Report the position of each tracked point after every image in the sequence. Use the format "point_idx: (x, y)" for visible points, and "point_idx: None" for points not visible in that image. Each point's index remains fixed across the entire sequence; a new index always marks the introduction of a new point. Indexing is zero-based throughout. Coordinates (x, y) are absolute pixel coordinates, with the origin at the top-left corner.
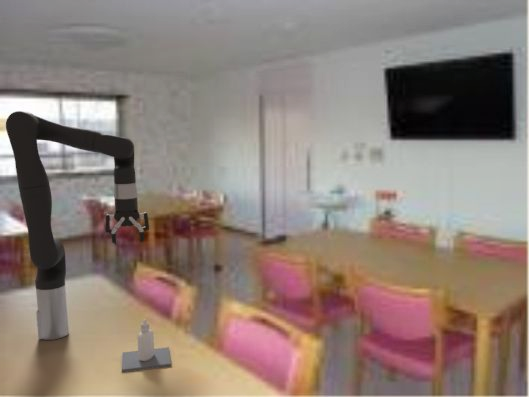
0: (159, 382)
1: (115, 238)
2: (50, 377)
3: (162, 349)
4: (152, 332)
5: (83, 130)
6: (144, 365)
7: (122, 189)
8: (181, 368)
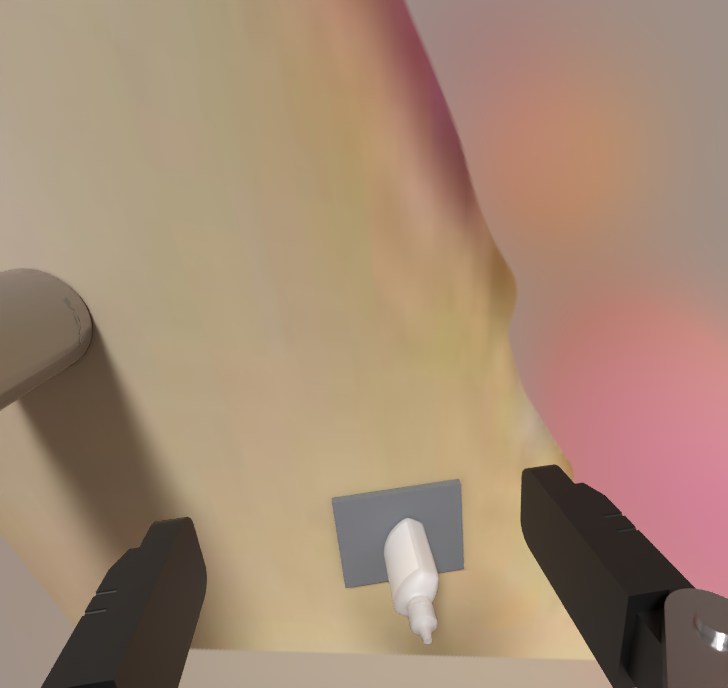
0: None
1: (171, 679)
2: None
3: (443, 495)
4: (437, 586)
5: None
6: None
7: None
8: (484, 573)
